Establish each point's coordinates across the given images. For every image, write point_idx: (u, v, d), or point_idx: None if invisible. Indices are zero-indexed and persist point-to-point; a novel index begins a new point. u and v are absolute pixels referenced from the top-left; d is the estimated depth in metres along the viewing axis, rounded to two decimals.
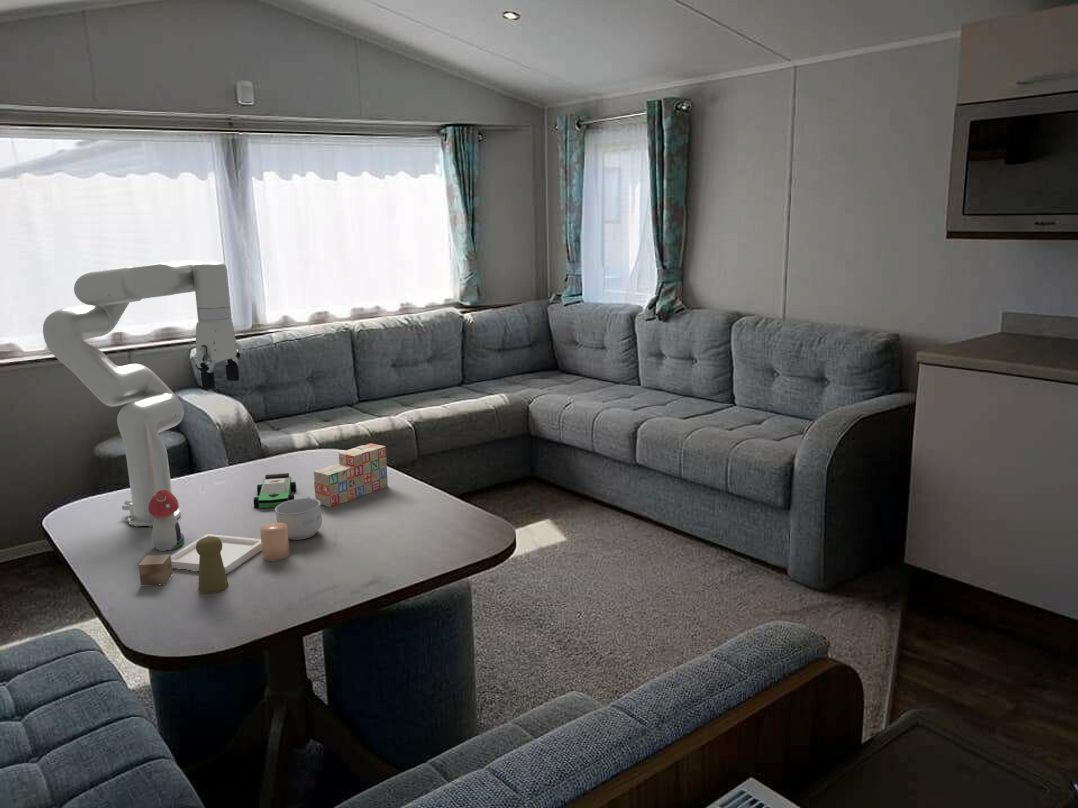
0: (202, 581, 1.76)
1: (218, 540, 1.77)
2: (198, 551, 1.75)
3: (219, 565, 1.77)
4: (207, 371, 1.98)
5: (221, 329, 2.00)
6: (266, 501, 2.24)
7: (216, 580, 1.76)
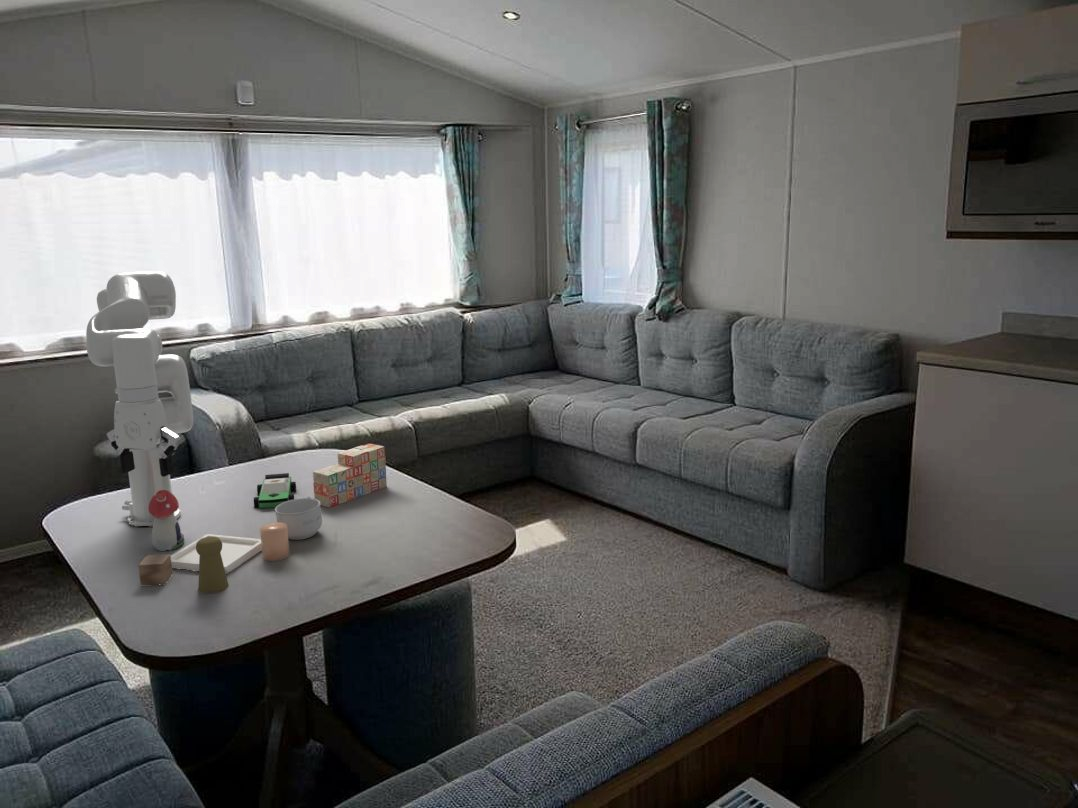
0: (202, 581, 1.76)
1: (218, 540, 1.77)
2: (198, 551, 1.75)
3: (219, 565, 1.77)
4: (173, 453, 1.76)
5: None
6: (266, 501, 2.24)
7: (216, 580, 1.76)
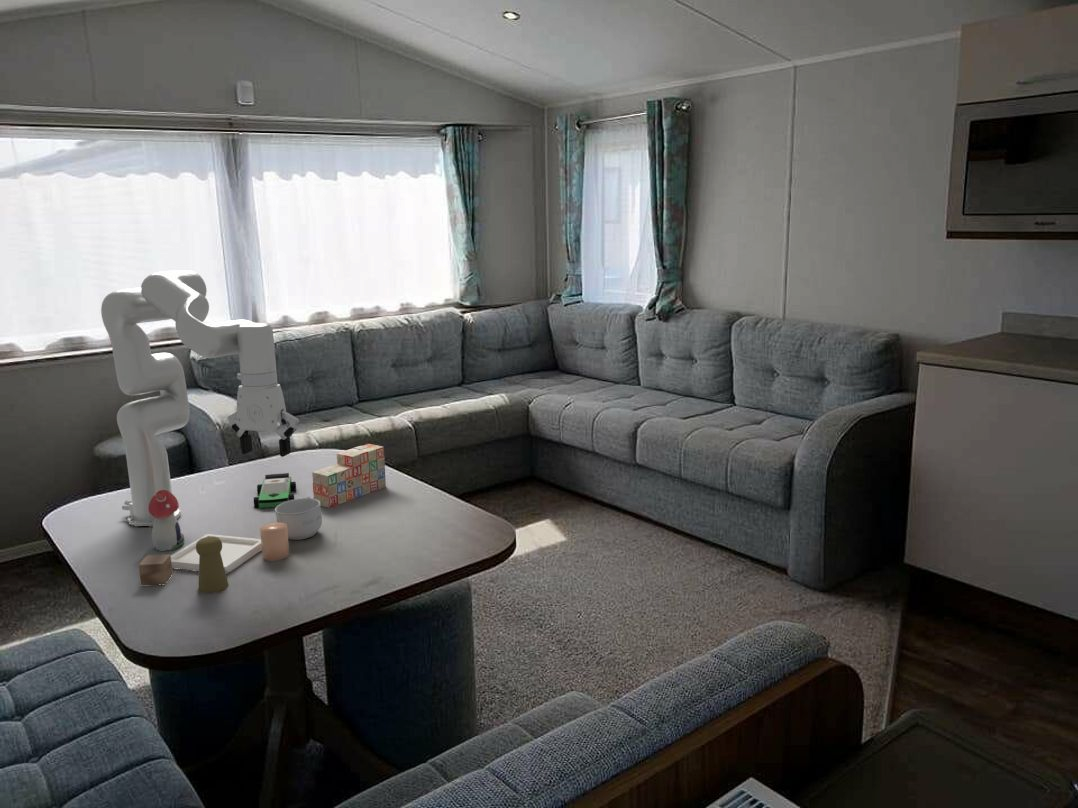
0: (202, 581, 1.76)
1: (218, 540, 1.77)
2: (198, 551, 1.75)
3: (219, 565, 1.77)
4: (291, 435, 1.88)
5: None
6: (266, 501, 2.24)
7: (216, 580, 1.76)
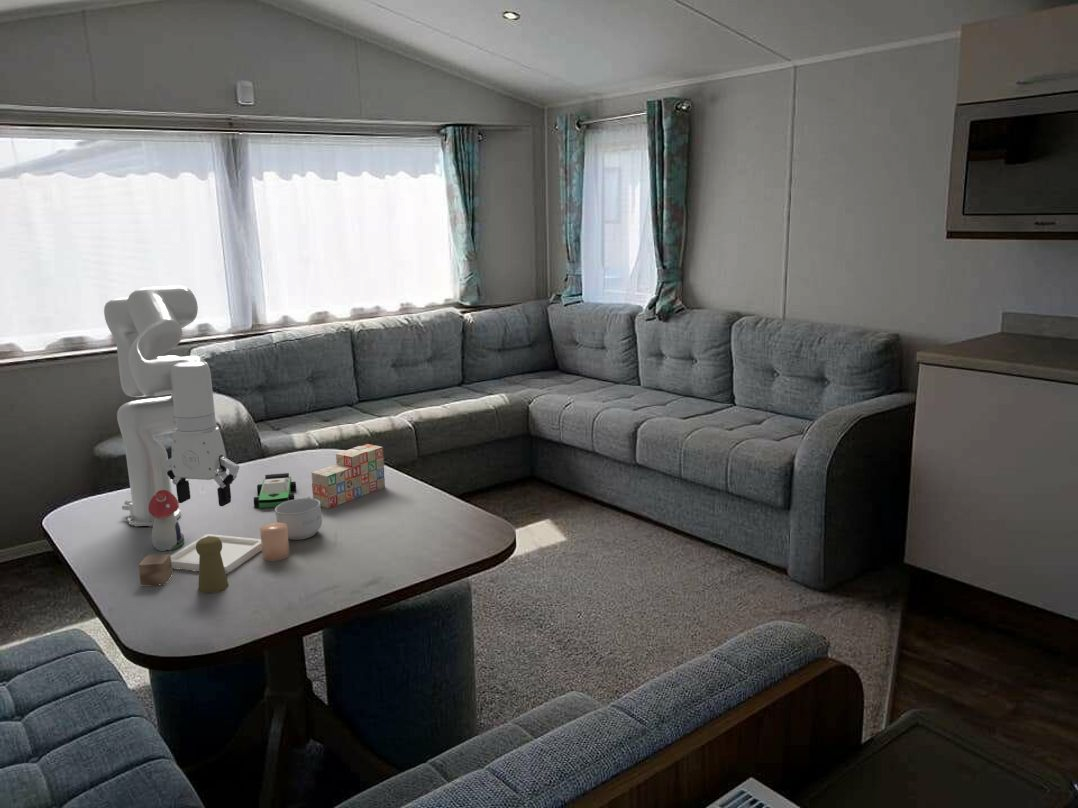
0: (202, 580, 1.76)
1: (218, 540, 1.77)
2: (198, 551, 1.75)
3: (219, 565, 1.77)
4: (231, 482, 1.73)
5: None
6: (266, 501, 2.25)
7: (216, 579, 1.76)
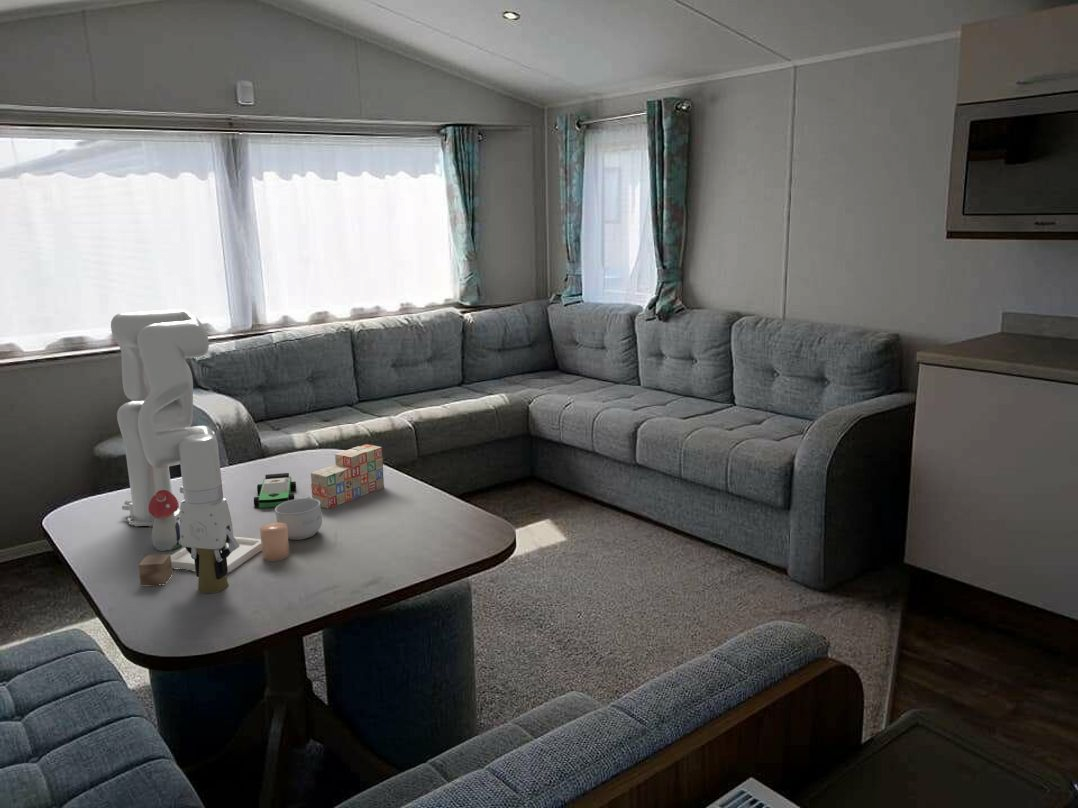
0: (202, 580, 1.76)
1: None
2: (198, 551, 1.75)
3: None
4: (227, 556, 1.77)
5: None
6: (266, 501, 2.25)
7: (216, 579, 1.76)
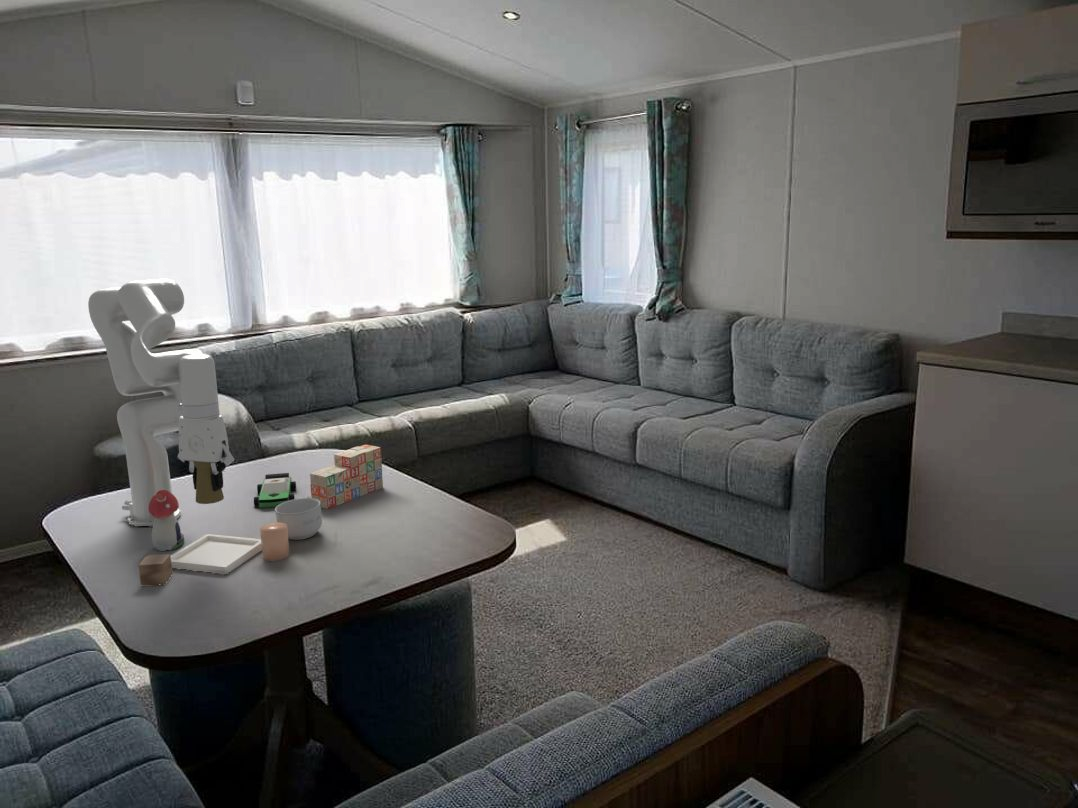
0: (199, 492, 1.88)
1: None
2: (195, 464, 1.87)
3: None
4: (223, 470, 1.90)
5: None
6: (266, 501, 2.25)
7: (212, 491, 1.88)
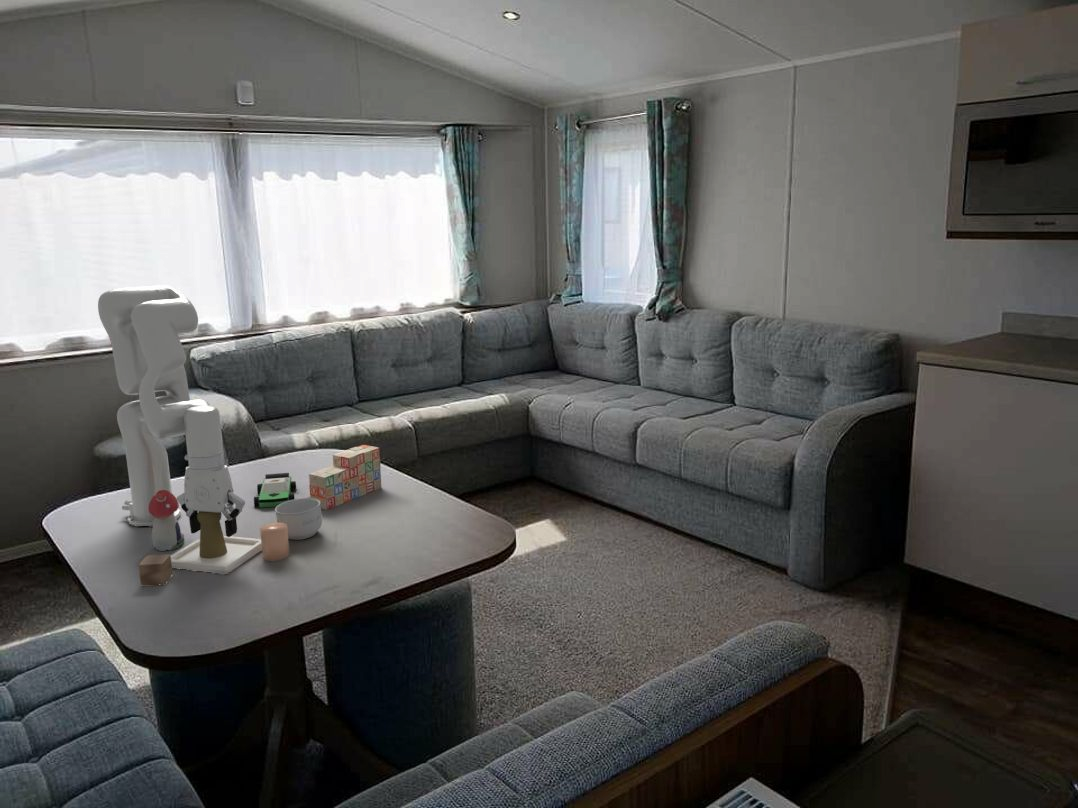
0: (203, 547, 1.92)
1: None
2: (199, 519, 1.90)
3: (218, 533, 1.92)
4: (237, 515, 1.91)
5: None
6: (266, 500, 2.25)
7: (215, 546, 1.92)
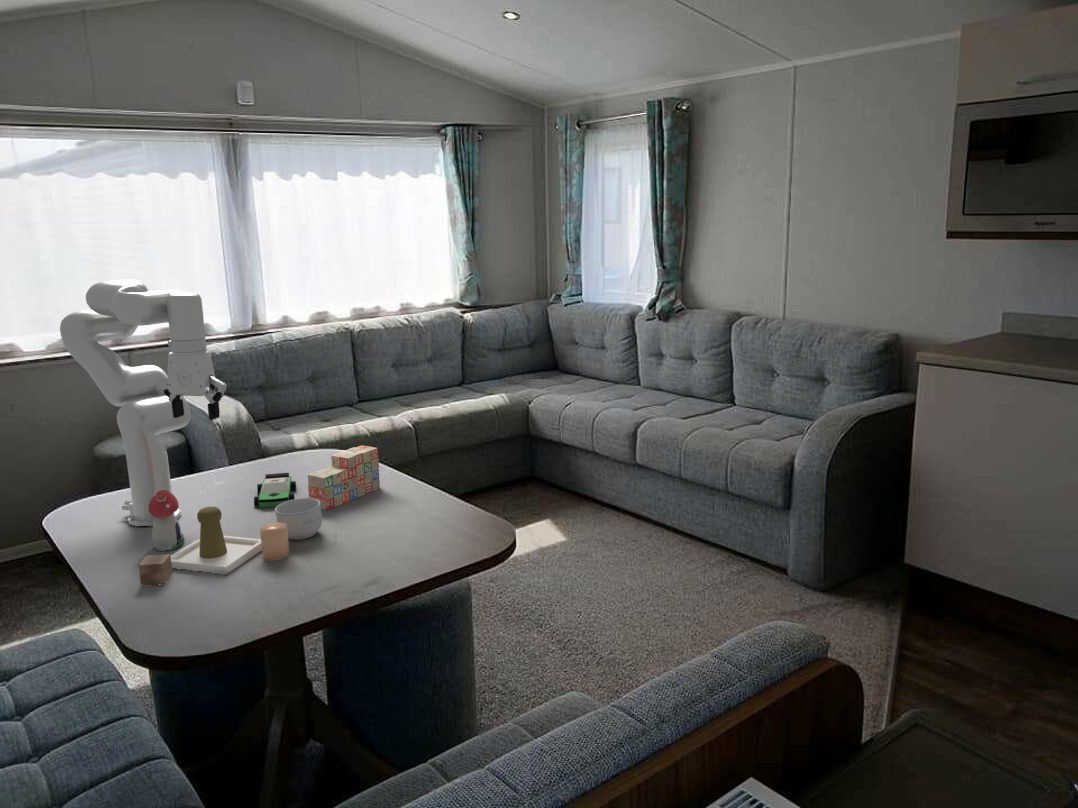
0: (203, 547, 1.92)
1: (217, 510, 1.92)
2: (199, 519, 1.90)
3: (218, 533, 1.92)
4: (219, 399, 1.97)
5: None
6: (266, 500, 2.25)
7: (215, 546, 1.92)
